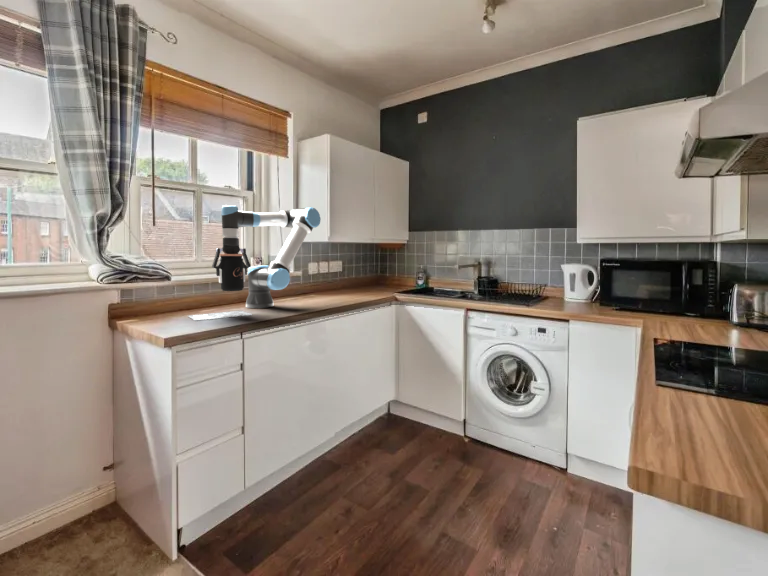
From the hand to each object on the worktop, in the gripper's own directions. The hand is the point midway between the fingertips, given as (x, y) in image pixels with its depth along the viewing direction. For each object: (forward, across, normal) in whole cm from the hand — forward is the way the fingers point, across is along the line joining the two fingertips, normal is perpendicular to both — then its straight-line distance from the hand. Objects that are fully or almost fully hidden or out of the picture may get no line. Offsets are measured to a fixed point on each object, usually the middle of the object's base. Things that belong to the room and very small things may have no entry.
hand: (232, 282), depth 193 cm
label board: (+16, +6, 0) cm, 17 cm away
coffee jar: (+4, 0, 0) cm, 4 cm away
